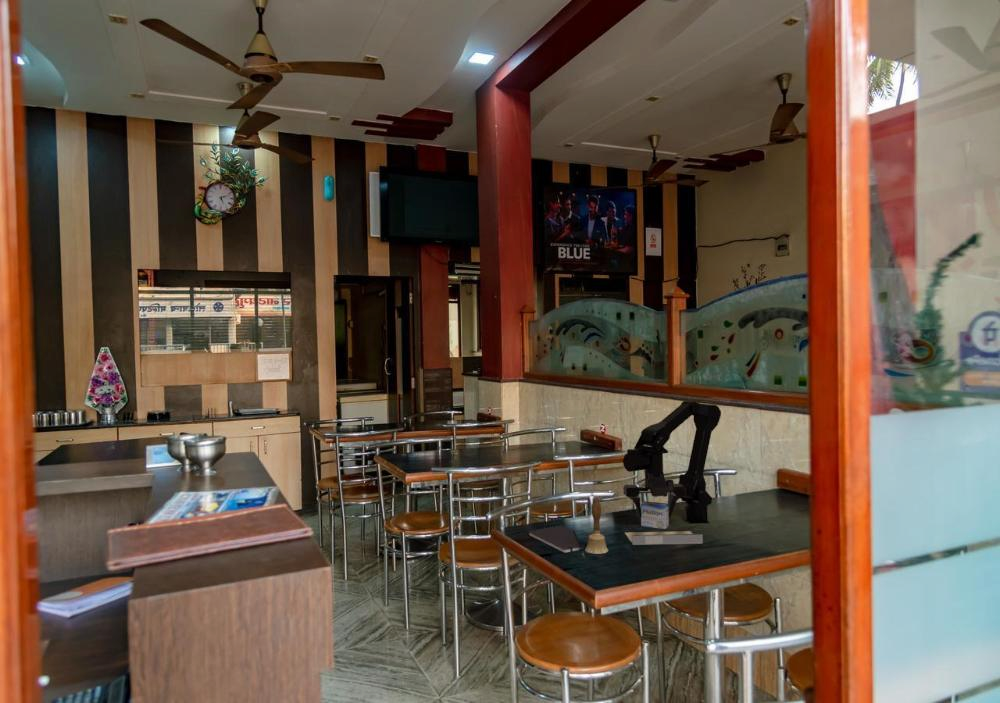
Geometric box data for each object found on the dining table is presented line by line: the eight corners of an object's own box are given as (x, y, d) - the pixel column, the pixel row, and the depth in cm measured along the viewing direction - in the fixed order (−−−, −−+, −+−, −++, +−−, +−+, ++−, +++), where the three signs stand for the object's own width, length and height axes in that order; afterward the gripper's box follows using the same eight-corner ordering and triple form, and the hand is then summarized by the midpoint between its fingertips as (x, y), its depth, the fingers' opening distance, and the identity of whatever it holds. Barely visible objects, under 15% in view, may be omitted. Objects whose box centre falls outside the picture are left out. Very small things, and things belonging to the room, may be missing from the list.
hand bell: (609, 550, 179) (608, 494, 179) (614, 560, 170) (612, 501, 170) (580, 550, 179) (579, 495, 179) (583, 560, 170) (582, 502, 171)
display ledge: (690, 536, 190) (690, 531, 190) (702, 548, 178) (702, 543, 178) (624, 537, 191) (624, 532, 191) (633, 549, 179) (632, 544, 179)
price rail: (701, 542, 179) (701, 533, 179) (702, 543, 178) (702, 534, 178) (632, 543, 179) (632, 535, 179) (633, 544, 178) (632, 536, 178)
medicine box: (640, 530, 197) (640, 503, 197) (644, 527, 201) (644, 500, 201) (666, 533, 194) (665, 505, 194) (669, 530, 198) (668, 502, 198)
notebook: (601, 547, 183) (561, 530, 202) (600, 542, 183) (561, 525, 202) (564, 554, 177) (527, 536, 196) (564, 549, 177) (527, 531, 196)
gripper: (629, 473, 190) (630, 525, 190) (691, 472, 189) (692, 523, 189) (622, 467, 201) (623, 515, 201) (680, 465, 201) (681, 514, 201)
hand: (654, 517), depth 198 cm, fingers open, 9 cm apart
